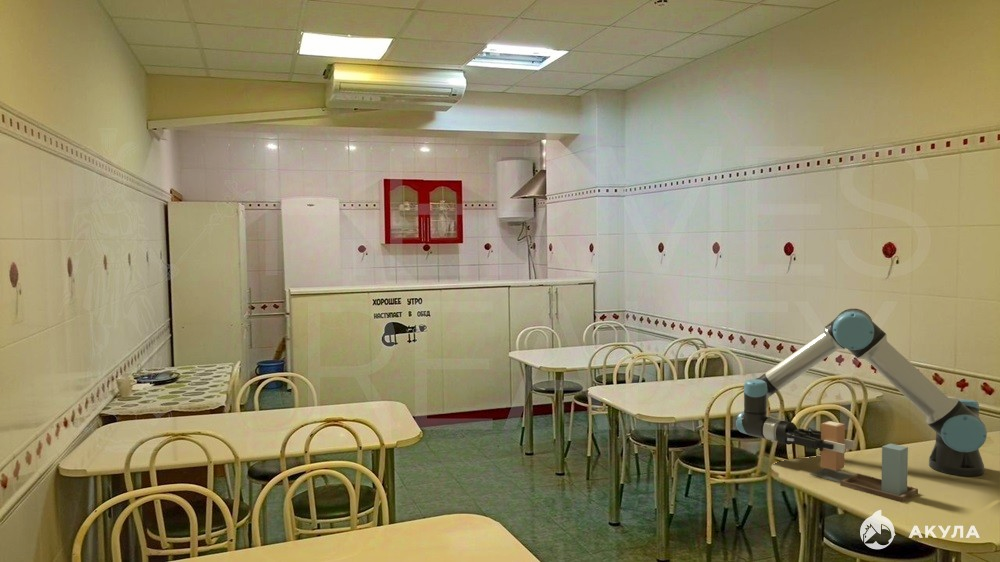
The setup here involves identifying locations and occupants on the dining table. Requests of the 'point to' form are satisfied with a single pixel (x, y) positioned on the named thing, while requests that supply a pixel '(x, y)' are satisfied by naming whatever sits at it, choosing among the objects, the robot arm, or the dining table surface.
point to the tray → (874, 487)
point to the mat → (831, 474)
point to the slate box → (894, 469)
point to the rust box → (834, 434)
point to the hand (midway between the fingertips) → (849, 447)
